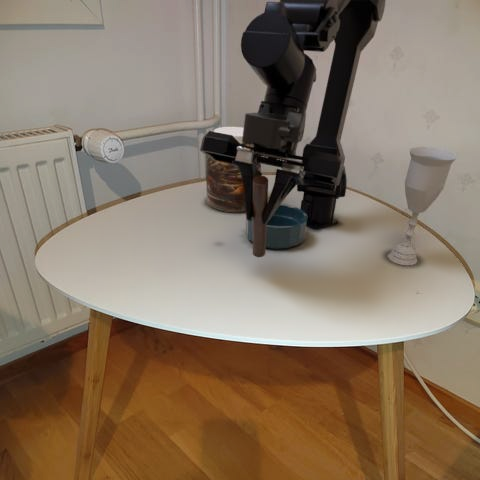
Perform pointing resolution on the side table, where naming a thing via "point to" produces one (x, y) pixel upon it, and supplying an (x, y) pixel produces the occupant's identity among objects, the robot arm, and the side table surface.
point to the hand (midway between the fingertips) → (256, 222)
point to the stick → (259, 215)
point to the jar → (226, 179)
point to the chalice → (421, 192)
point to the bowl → (283, 227)
